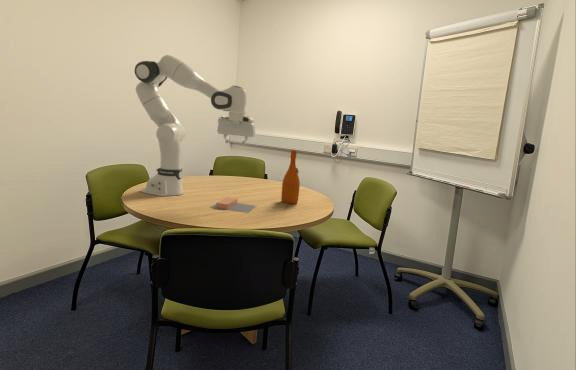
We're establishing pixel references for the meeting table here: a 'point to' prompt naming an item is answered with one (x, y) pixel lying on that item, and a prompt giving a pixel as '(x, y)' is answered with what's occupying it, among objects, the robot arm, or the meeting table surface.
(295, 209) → the meeting table surface
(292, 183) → the wine bottle
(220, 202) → the tile
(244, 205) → the mat
